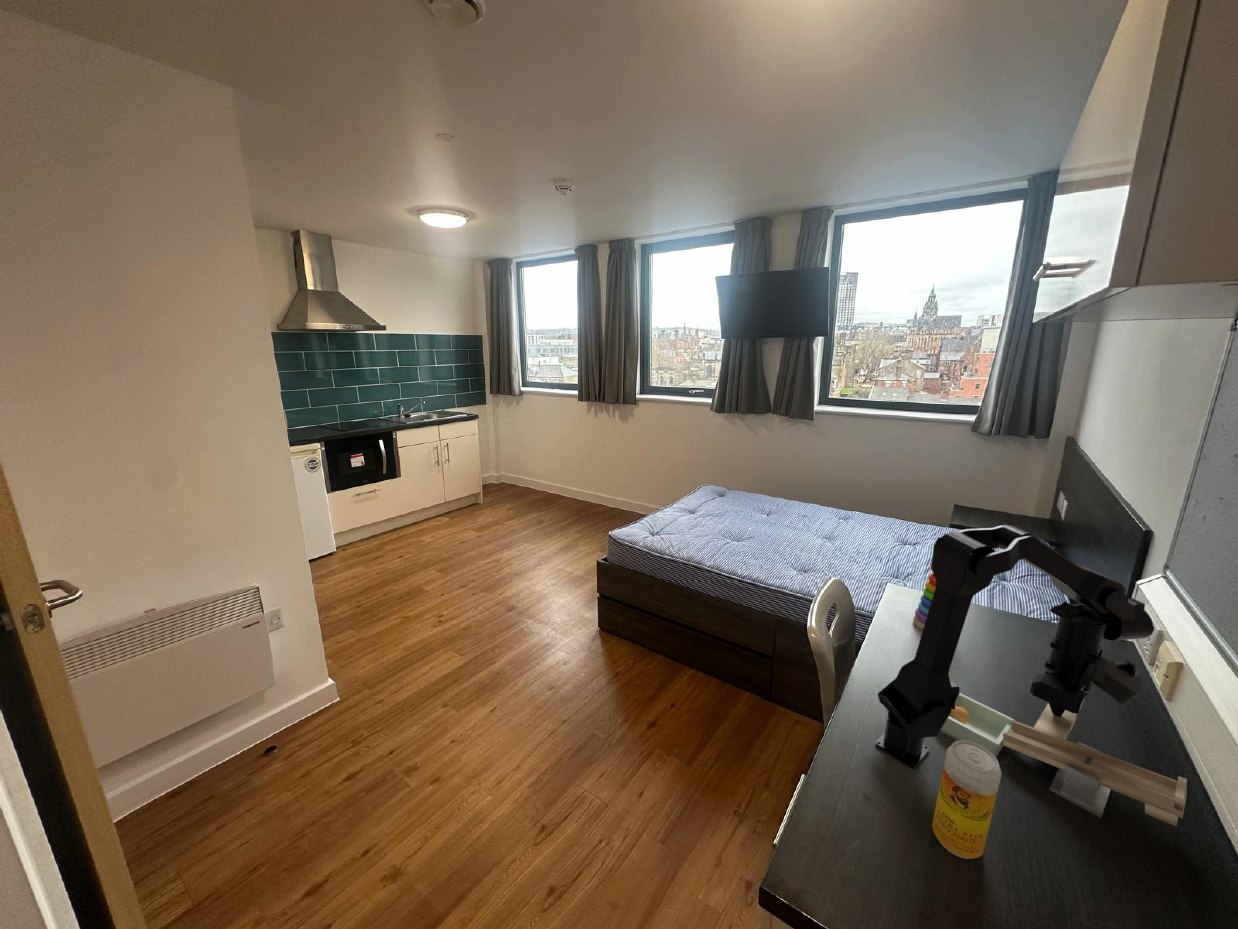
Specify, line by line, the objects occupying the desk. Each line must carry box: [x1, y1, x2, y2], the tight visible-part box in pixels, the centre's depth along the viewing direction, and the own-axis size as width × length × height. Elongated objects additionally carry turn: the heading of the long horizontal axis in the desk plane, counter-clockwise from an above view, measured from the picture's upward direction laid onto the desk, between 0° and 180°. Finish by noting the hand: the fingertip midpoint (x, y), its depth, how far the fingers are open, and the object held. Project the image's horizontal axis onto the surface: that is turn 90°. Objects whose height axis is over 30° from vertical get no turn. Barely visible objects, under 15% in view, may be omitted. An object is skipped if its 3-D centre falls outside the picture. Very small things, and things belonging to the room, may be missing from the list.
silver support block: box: [1049, 741, 1112, 819], centre depth 76 cm, size 8×6×6 cm
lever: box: [1003, 702, 1188, 827], centre depth 79 cm, size 17×20×5 cm
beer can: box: [931, 740, 1002, 860], centre depth 67 cm, size 6×6×15 cm
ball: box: [950, 706, 969, 724], centre depth 89 cm, size 3×3×3 cm
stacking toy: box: [912, 561, 936, 631], centre depth 118 cm, size 8×8×19 cm
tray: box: [939, 692, 1015, 758], centre depth 88 cm, size 9×9×4 cm
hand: (1056, 715), depth 87 cm, fingers closed, pressing on lever
